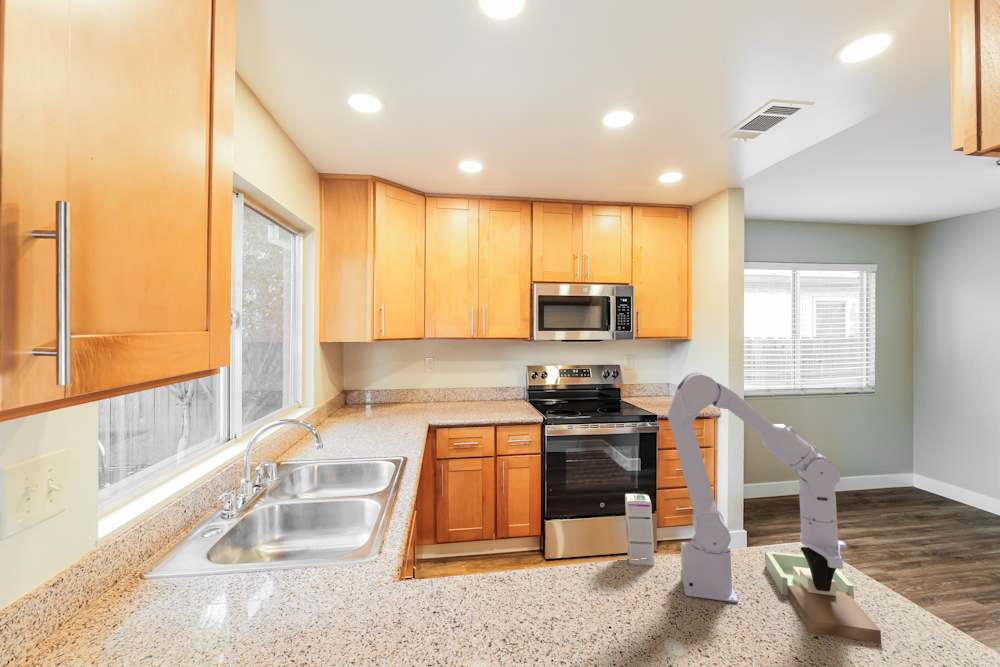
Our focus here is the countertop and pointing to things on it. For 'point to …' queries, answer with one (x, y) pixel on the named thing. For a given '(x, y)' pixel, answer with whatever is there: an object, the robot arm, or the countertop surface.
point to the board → (833, 615)
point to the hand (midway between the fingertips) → (822, 589)
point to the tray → (783, 572)
